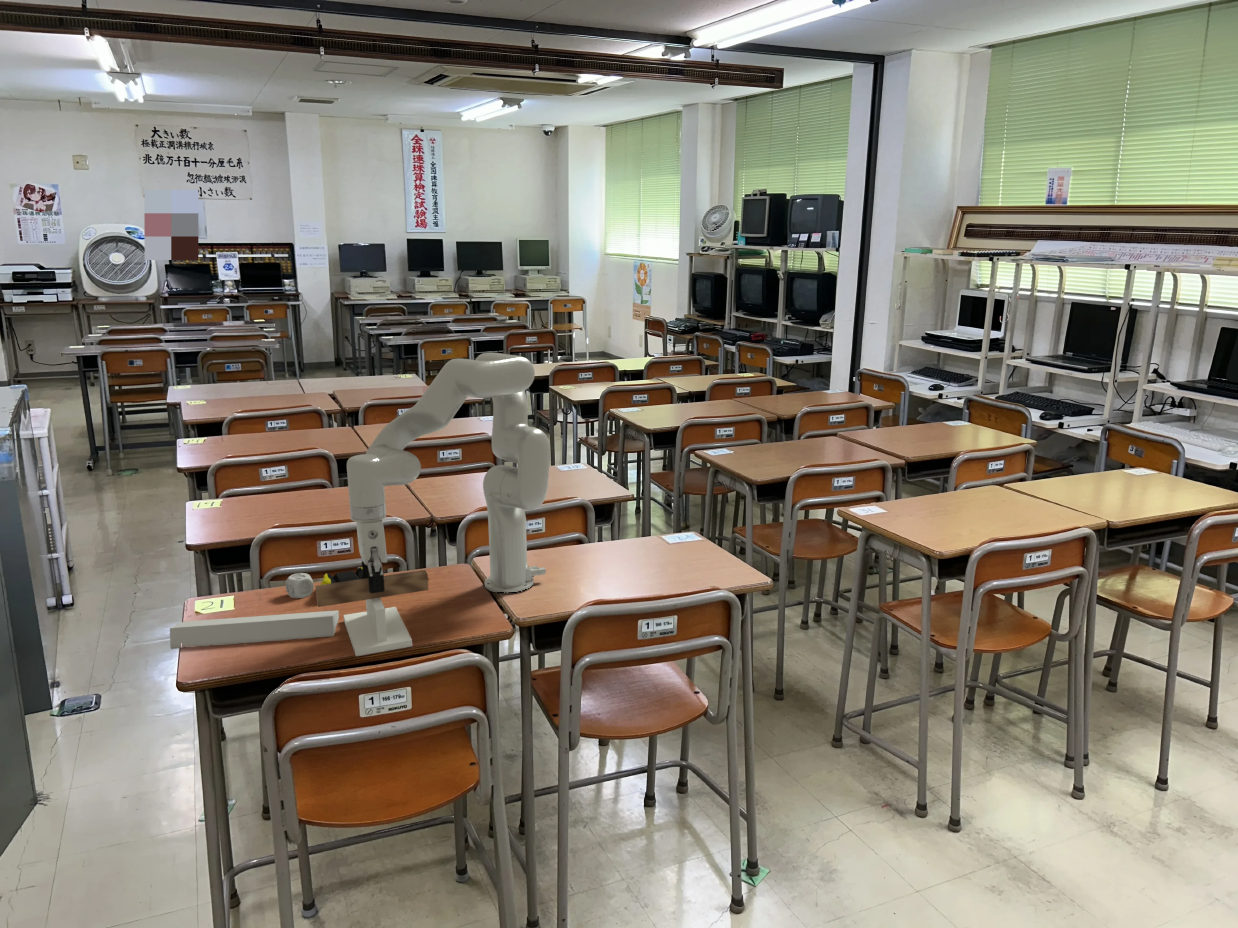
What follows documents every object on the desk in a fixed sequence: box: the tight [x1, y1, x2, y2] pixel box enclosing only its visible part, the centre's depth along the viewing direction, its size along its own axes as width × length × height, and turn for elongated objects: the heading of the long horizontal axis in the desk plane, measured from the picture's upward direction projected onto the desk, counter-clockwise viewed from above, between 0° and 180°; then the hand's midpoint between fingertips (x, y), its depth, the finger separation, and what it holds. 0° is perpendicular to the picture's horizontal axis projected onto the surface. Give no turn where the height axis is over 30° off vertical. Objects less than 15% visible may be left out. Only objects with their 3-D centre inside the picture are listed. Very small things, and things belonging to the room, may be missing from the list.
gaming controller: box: [319, 566, 366, 585], centre depth 224 cm, size 15×6×10 cm
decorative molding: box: [169, 610, 340, 650], centre depth 200 cm, size 34×5×10 cm
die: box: [285, 572, 315, 599], centre depth 221 cm, size 5×5×5 cm
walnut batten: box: [315, 569, 429, 608], centre depth 197 cm, size 24×3×4 cm, turn 114°
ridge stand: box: [343, 598, 413, 657], centre depth 199 cm, size 12×20×9 cm, turn 24°
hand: (373, 584), depth 197 cm, fingers open, 9 cm apart
